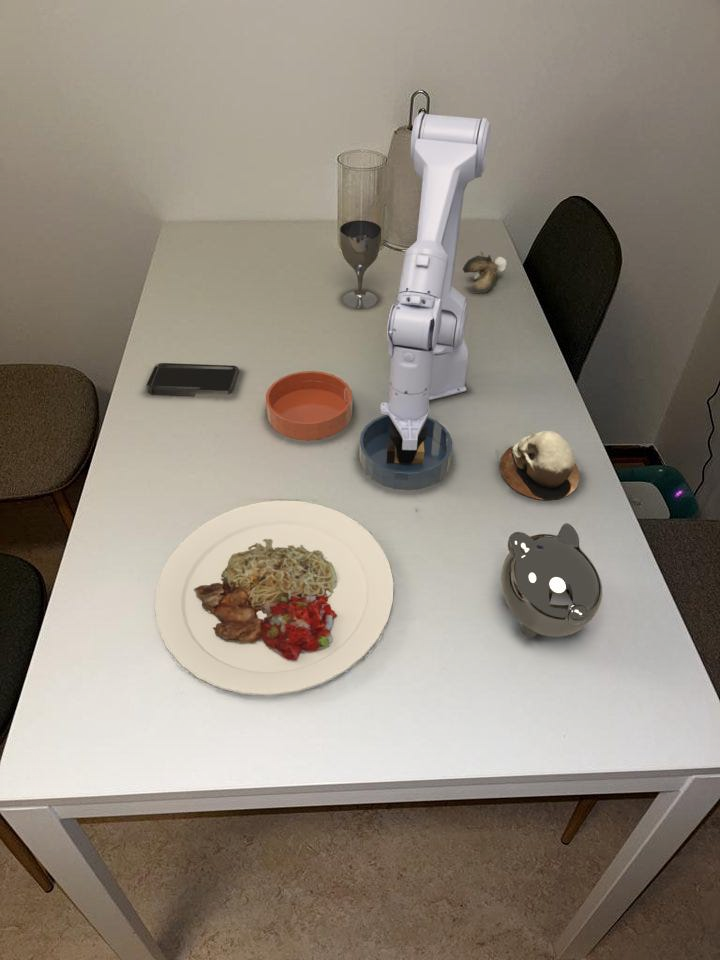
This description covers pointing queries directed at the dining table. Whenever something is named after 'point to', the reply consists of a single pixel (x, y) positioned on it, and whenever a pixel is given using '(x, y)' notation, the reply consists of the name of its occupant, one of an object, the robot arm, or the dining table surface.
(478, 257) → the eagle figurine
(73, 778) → the dining table surface
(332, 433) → the terracotta bowl
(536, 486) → the skull
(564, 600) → the piggy bank
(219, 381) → the phone
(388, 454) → the tan block dark cap
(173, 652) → the plated food
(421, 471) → the slate bowl
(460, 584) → the dining table surface
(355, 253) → the wine glass
